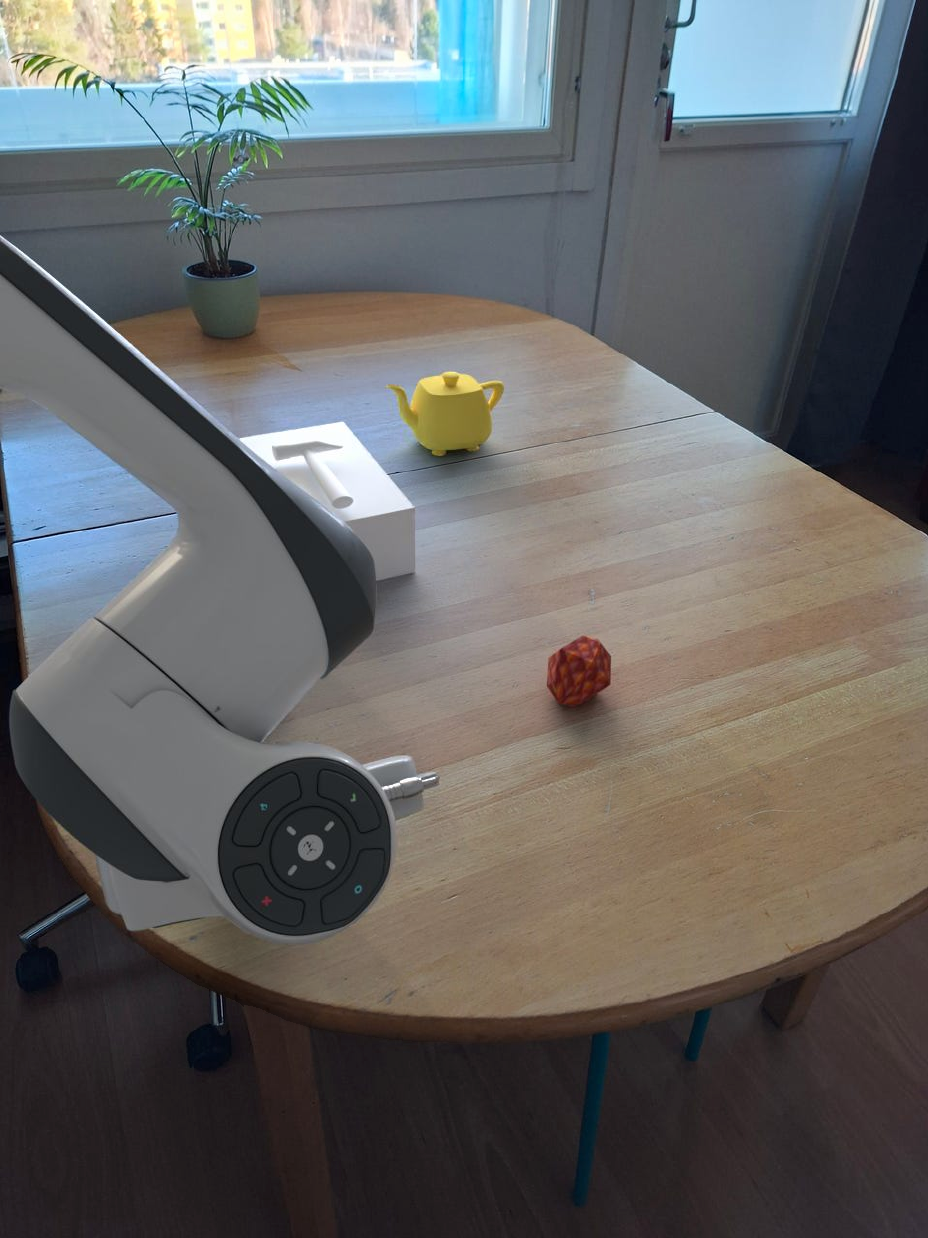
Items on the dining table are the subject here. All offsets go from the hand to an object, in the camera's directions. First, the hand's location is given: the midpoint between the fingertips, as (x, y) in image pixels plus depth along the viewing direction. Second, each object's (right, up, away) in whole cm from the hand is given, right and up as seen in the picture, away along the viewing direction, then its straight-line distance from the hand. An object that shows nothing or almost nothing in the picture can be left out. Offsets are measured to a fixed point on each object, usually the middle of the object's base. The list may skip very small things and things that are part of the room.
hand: (258, 818), depth 62 cm
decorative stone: (+26, +7, +24) cm, 36 cm away
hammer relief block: (-3, +25, +47) cm, 54 cm away
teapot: (+12, +40, +69) cm, 81 cm away
